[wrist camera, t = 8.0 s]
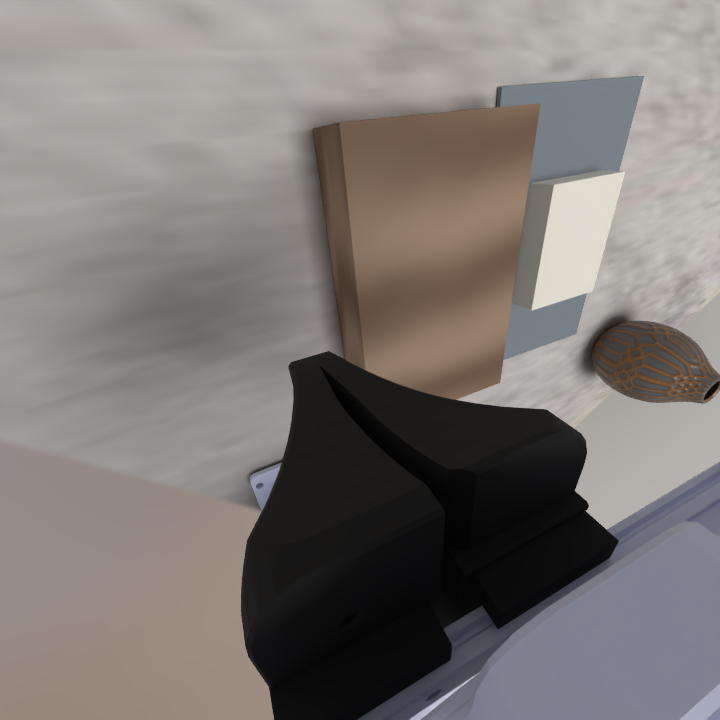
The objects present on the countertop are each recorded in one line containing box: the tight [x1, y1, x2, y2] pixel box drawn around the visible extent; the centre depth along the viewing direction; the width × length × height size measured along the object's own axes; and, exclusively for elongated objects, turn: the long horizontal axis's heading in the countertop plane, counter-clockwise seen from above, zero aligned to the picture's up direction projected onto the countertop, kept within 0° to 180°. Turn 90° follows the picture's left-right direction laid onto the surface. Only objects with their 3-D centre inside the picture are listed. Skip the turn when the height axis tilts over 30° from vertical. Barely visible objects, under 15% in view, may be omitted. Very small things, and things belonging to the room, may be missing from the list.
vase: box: [592, 321, 720, 403], centre depth 31 cm, size 7×7×9 cm
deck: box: [313, 103, 541, 400], centre depth 20 cm, size 16×10×4 cm, turn 7°
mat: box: [496, 76, 644, 360], centre depth 25 cm, size 18×11×1 cm, turn 7°
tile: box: [513, 171, 625, 311], centre depth 24 cm, size 8×6×2 cm
